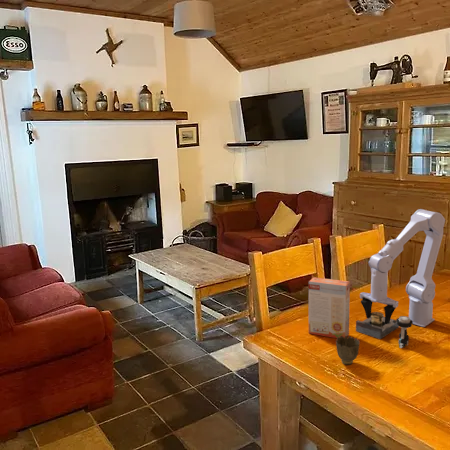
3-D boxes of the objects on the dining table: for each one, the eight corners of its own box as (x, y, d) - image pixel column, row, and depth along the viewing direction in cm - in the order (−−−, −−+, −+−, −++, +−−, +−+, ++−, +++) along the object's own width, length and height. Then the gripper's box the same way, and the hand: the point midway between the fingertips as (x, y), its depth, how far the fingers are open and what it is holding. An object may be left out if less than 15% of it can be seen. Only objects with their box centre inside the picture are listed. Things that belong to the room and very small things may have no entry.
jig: (374, 320, 181) (375, 310, 180) (398, 327, 174) (399, 317, 173) (355, 331, 172) (356, 321, 171) (380, 339, 164) (380, 328, 164)
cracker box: (349, 334, 169) (350, 280, 165) (345, 340, 164) (346, 285, 160) (313, 327, 176) (313, 276, 172) (308, 333, 171) (308, 280, 167)
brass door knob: (373, 325, 176) (374, 310, 175) (385, 328, 173) (385, 313, 172) (368, 329, 173) (368, 314, 172) (379, 332, 170) (380, 317, 169)
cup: (355, 371, 144) (355, 347, 142) (332, 365, 147) (332, 342, 146) (361, 360, 150) (362, 338, 148) (339, 355, 154) (340, 333, 152)
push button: (408, 351, 155) (409, 323, 153) (392, 347, 158) (393, 320, 156) (412, 343, 160) (414, 317, 158) (397, 339, 164) (398, 313, 161)
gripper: (356, 284, 172) (355, 318, 175) (392, 293, 161) (390, 329, 164) (365, 280, 176) (364, 312, 179) (401, 288, 166) (399, 323, 169)
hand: (377, 320), depth 172 cm, fingers open, 7 cm apart
